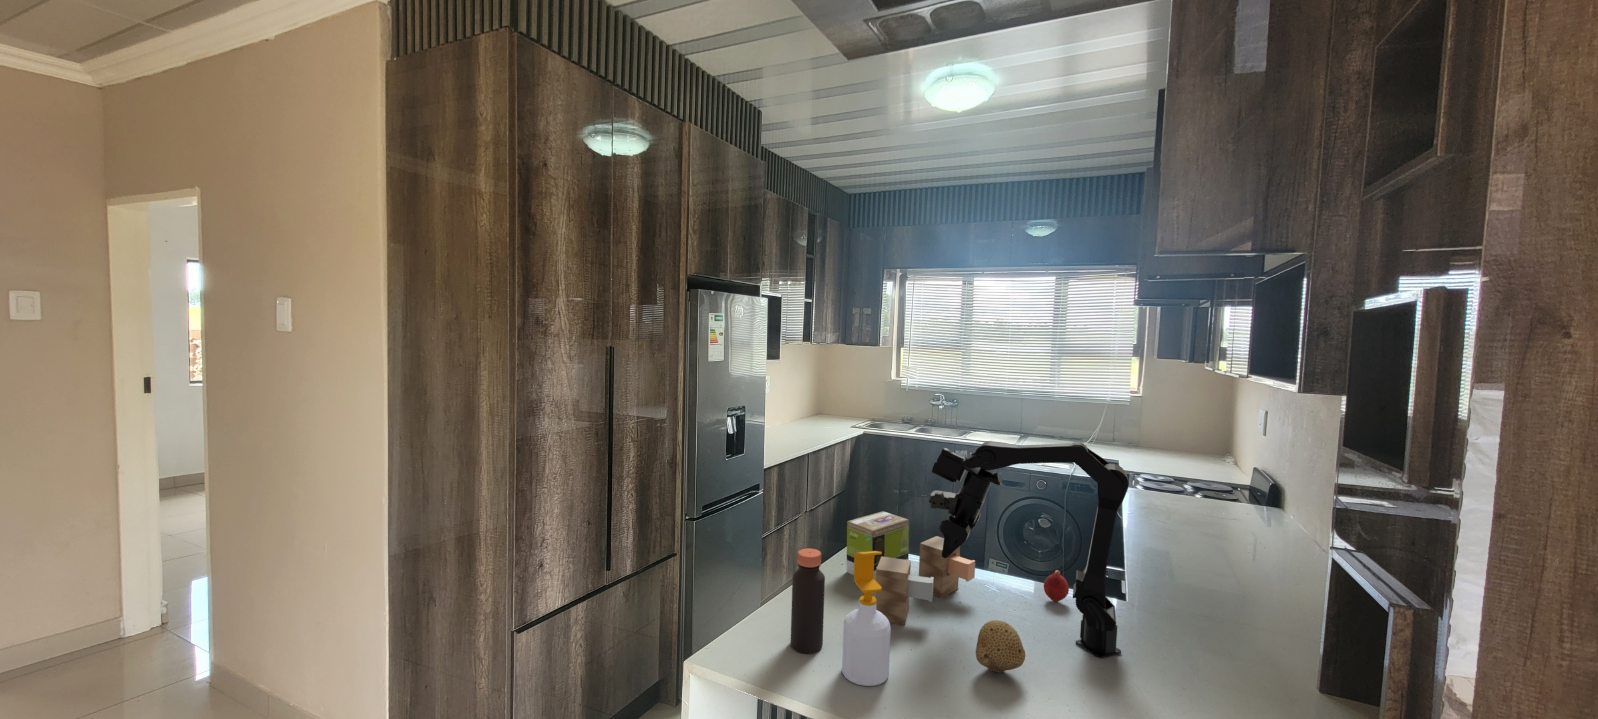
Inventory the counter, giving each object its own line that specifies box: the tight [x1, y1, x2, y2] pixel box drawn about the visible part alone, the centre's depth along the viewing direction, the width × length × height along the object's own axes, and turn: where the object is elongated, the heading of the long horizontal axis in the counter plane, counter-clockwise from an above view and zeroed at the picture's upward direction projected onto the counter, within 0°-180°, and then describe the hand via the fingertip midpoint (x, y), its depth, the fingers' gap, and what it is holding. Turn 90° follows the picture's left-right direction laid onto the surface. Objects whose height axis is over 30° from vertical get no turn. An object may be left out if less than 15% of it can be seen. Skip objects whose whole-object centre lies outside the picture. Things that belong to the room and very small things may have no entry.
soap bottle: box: [841, 551, 892, 687], centre depth 116 cm, size 9×9×25 cm
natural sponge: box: [975, 619, 1026, 673], centre depth 118 cm, size 9×9×10 cm
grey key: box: [907, 574, 934, 603], centre depth 139 cm, size 8×3×4 cm, turn 74°
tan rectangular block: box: [947, 554, 976, 582], centre depth 152 cm, size 8×3×4 cm, turn 46°
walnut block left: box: [874, 557, 912, 626], centre depth 140 cm, size 7×8×12 cm
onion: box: [1043, 569, 1070, 603], centre depth 150 cm, size 6×6×8 cm
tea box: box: [846, 510, 910, 581], centre depth 165 cm, size 15×10×15 cm, turn 130°
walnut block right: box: [918, 535, 961, 598], centre depth 155 cm, size 7×8×12 cm
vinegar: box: [790, 547, 826, 654], centre depth 125 cm, size 7×7×20 cm
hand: (948, 550), depth 142 cm, fingers open, 9 cm apart
